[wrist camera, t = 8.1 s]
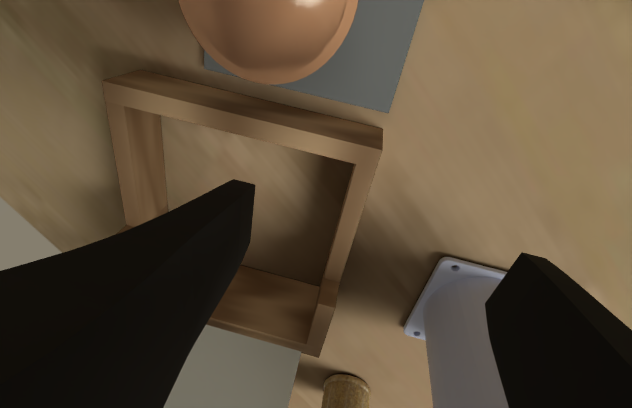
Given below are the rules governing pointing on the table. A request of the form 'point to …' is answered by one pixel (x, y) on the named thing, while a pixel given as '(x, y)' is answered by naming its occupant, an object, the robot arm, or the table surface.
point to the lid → (234, 373)
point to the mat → (362, 57)
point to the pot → (270, 35)
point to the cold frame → (259, 123)
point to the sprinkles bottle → (345, 392)
